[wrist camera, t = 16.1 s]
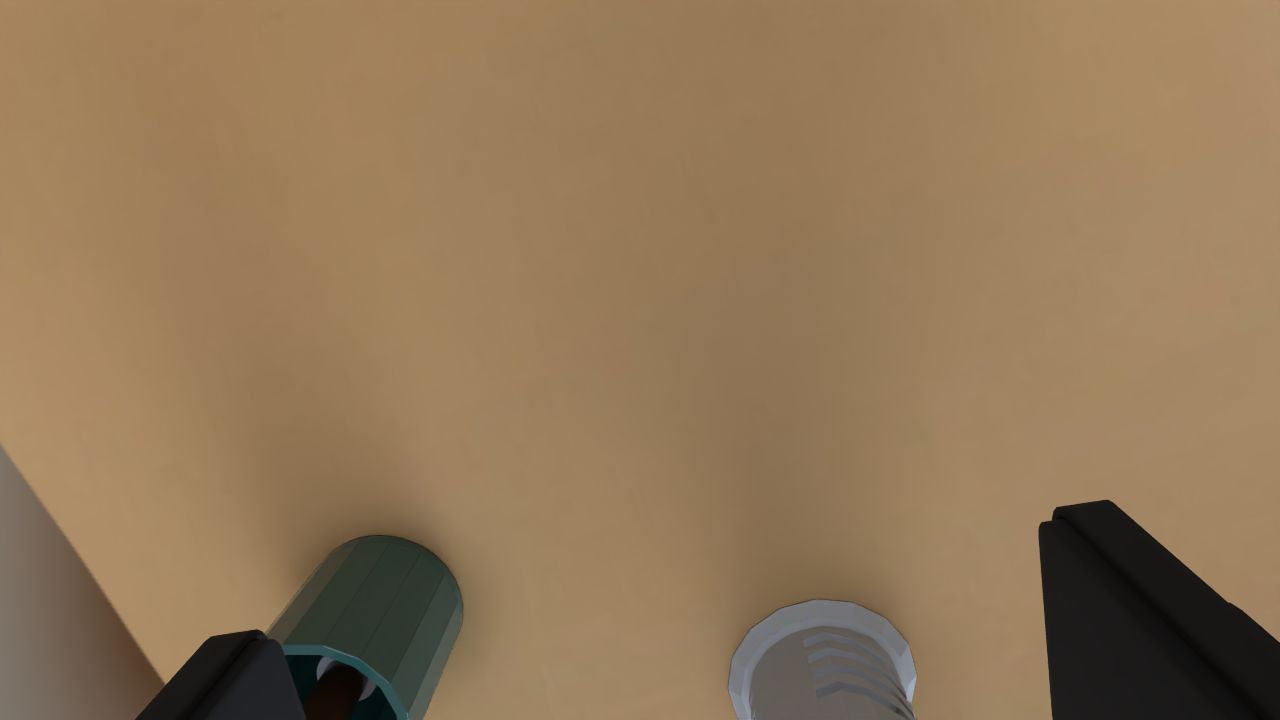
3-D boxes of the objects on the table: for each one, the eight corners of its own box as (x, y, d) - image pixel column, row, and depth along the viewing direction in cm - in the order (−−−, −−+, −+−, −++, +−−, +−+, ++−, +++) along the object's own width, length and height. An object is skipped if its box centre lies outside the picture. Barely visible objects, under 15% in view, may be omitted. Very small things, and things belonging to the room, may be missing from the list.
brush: (337, 630, 44) (199, 841, 31) (360, 574, 44) (227, 767, 31) (402, 656, 45) (292, 876, 32) (426, 601, 44) (323, 804, 31)
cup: (280, 603, 45) (180, 727, 36) (376, 505, 43) (297, 608, 34) (396, 698, 46) (329, 840, 37) (494, 605, 45) (449, 730, 36)
